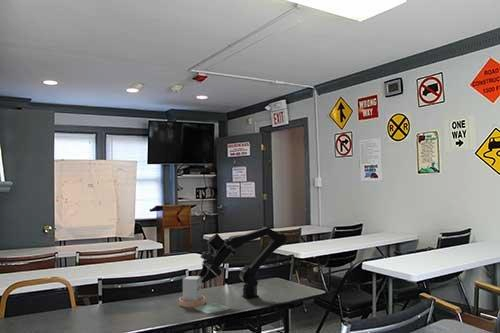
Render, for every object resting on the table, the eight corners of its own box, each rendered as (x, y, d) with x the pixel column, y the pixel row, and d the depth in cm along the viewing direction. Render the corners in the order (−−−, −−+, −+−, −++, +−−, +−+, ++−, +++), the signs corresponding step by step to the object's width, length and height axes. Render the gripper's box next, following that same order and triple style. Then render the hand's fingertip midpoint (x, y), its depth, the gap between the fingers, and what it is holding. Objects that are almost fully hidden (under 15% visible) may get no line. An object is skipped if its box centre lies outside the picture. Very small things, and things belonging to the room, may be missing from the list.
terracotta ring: (197, 298, 209) (197, 293, 209) (209, 303, 199) (209, 298, 199) (174, 302, 202) (174, 297, 202) (186, 308, 192) (186, 303, 192)
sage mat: (216, 303, 199) (216, 302, 199) (229, 309, 190) (229, 308, 190) (194, 308, 192) (194, 307, 192) (207, 314, 183) (207, 313, 183)
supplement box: (196, 305, 196) (196, 279, 197) (182, 305, 198) (182, 279, 198) (201, 301, 203) (201, 276, 204) (187, 301, 205) (187, 275, 205)
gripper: (206, 243, 214) (185, 266, 210) (214, 248, 196) (192, 273, 192) (220, 257, 216) (200, 280, 212) (230, 263, 198) (208, 288, 194)
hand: (200, 280), depth 202 cm, fingers open, 9 cm apart
